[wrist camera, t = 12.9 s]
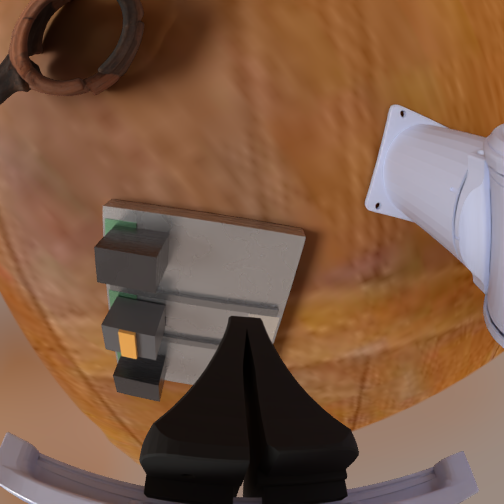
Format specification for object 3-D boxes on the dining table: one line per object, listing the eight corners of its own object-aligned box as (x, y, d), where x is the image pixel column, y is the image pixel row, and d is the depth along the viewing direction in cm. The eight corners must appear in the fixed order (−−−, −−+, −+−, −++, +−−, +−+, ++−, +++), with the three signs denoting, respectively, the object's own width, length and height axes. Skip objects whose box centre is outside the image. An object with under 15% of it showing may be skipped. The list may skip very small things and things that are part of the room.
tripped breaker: (165, 305, 22) (153, 339, 18) (164, 329, 23) (155, 363, 20) (117, 296, 21) (100, 327, 18) (119, 320, 22) (104, 351, 19)
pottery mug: (105, -35, 11) (110, -67, 6) (156, 47, 19) (182, 49, 13) (-18, 64, 11) (-62, 80, 6) (41, 137, 18) (22, 179, 13)
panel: (301, 228, 21) (317, 262, 17) (256, 380, 29) (258, 420, 24) (111, 199, 20) (79, 225, 15) (122, 359, 27) (109, 396, 23)
